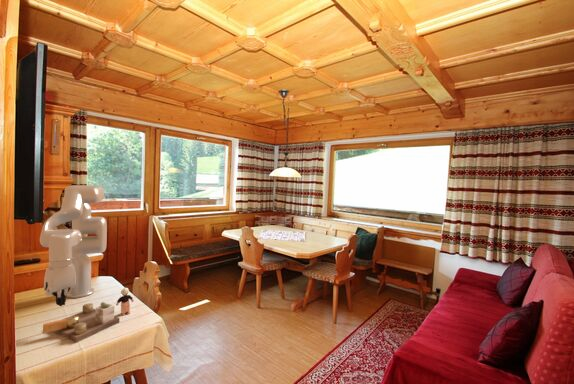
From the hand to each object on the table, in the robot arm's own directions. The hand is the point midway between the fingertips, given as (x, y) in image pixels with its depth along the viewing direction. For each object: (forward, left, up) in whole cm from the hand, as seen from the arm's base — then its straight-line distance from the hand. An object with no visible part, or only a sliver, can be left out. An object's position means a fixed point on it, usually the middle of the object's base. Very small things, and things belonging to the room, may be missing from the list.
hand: (60, 304), depth 122 cm
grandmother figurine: (+10, +22, -11) cm, 27 cm away
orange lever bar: (+4, -2, -9) cm, 10 cm away
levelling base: (+6, +6, -11) cm, 14 cm away
